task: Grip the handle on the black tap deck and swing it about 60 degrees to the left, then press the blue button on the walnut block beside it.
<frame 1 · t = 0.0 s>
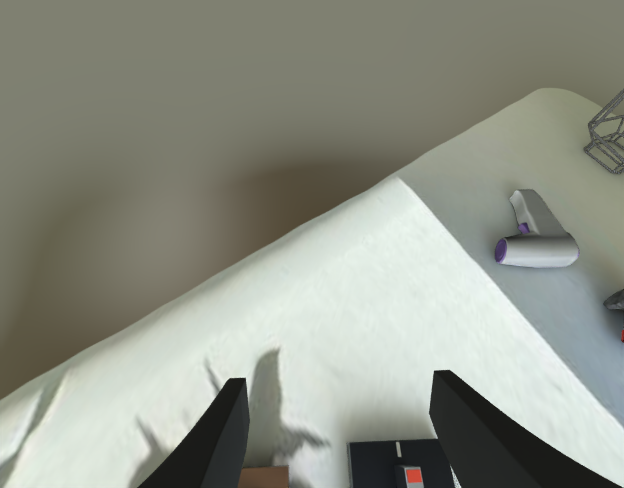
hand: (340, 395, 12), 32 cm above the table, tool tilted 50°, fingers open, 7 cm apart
geometric lantern: (611, 159, 66), on the table
infrared thermometer: (513, 233, 56), on the table
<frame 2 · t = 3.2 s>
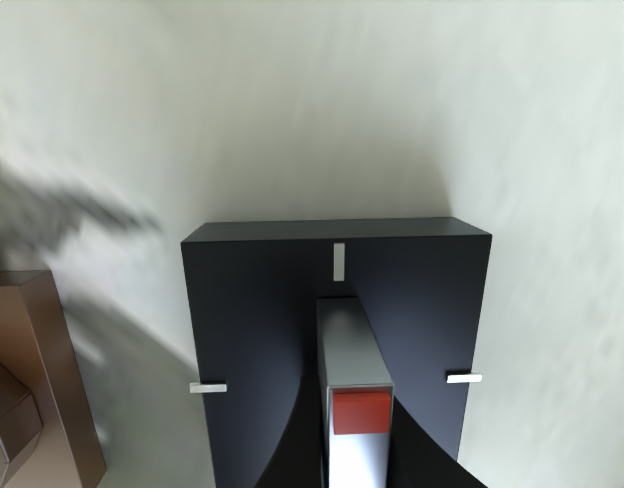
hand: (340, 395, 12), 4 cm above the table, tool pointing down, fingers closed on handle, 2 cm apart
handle: (345, 432, 10), point 5 cm above the table, hinge at 0.0°, touching gripper
tap deck: (330, 355, 16), on the table
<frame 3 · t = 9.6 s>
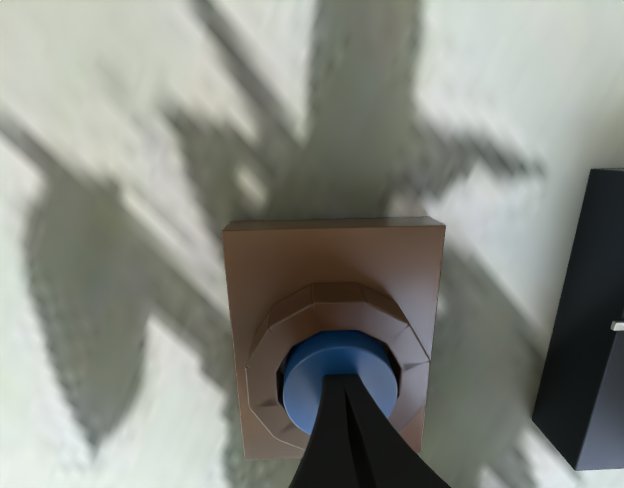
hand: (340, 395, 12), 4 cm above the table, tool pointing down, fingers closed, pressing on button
button: (338, 380, 13), point 3 cm above the table, slide at -0.6 cm, touching gripper
button block: (330, 335, 16), on the table
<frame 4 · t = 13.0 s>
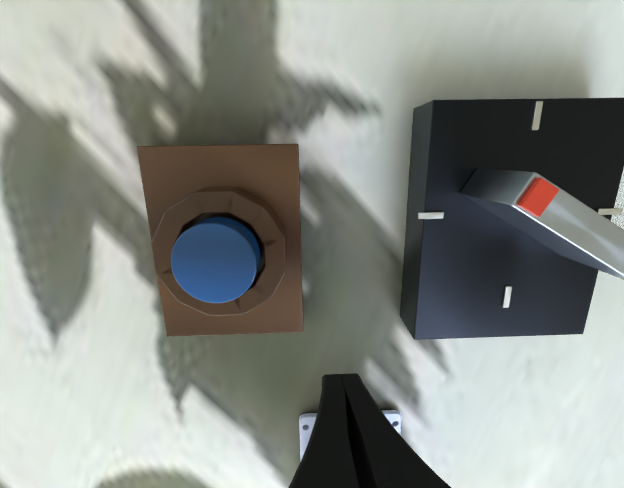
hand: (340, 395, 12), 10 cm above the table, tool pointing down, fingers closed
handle: (552, 221, 16), point 5 cm above the table, hinge at 59.8°
tap deck: (487, 220, 21), on the table
button: (217, 259, 17), point 4 cm above the table, slide at 0.1 cm
button block: (233, 240, 21), on the table
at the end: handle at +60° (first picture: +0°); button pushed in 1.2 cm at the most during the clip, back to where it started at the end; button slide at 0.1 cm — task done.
